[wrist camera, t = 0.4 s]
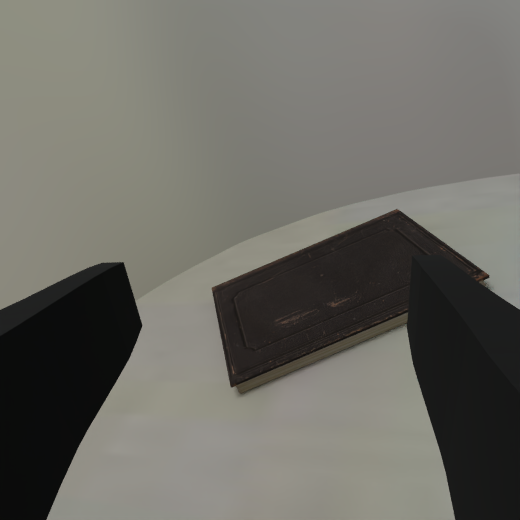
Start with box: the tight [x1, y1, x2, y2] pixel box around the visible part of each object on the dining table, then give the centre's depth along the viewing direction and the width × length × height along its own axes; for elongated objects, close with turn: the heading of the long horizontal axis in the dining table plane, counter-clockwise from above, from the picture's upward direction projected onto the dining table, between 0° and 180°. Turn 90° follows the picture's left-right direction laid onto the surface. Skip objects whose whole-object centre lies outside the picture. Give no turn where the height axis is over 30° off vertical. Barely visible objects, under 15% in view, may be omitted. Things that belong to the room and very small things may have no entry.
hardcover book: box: [212, 209, 489, 393], centre depth 42 cm, size 16×23×2 cm
